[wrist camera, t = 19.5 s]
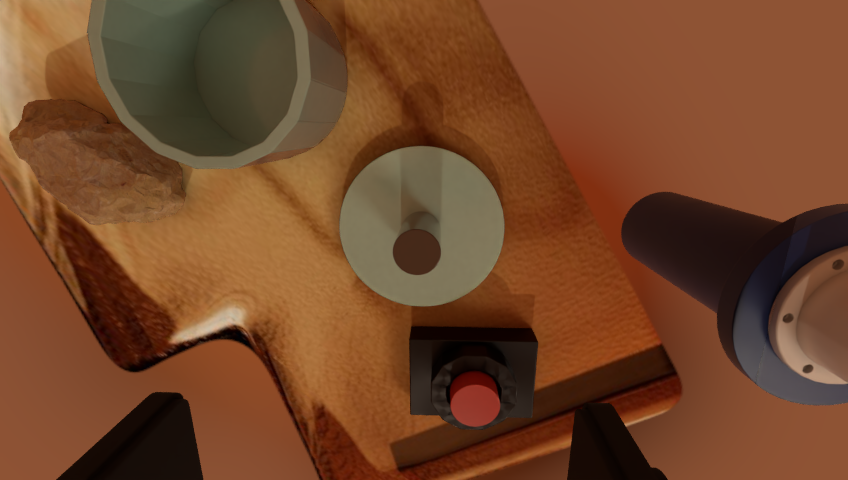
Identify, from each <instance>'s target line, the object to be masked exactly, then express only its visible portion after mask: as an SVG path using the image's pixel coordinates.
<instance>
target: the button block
mask: <svg viewBox="0 0 848 480" xmlns="http://www.w3.org/2000/svg"><path fill="white" fill-rule="evenodd" d="M537 349H538V341H537V339H536V336H535V334H534V332H533V330H532V329H530V328H472V327H413V326H412V327H411V332H410V339H409V351H410V414H411V415H440V416H441V418H442V419H443V420H444V421H446V422H448V423H450V424H452V425H454V426H456V427H458V428H460V429H473V430H483V429H487V428H489V427H491V426H493V425H496V424H498V423H500V422H502V421H504V420H505V419H506V417H518V418H532V411H533V398H534V386H535V374H536V362H537ZM467 371H480V372H483V373H486V374H487V375H489V376H490V377H491V378H492V379H493V380H494V382H495V384H496V386H497V391H498V395H499V400H500V410H499V413H498V415H497V416H496V418H495V419H494V420H493V421H491V422H490V423H488V424H486V425H483V426H477V427H474V426H468V425H465V424H462V423H461V422H459V421H458V420H457V419H456V418H455V417H454V415H453V414H452V411H451V407H450V387H451V384H452V382H453V380H454V379H455V378H456V377H457V376H458V375H460V374H462V373H464V372H467Z"/></svg>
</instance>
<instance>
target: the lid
mask: <svg viewBox="0 0 848 480" xmlns="http://www.w3.org/2000/svg"><path fill="white" fill-rule="evenodd" d="M339 231H340V238H341V243H342V247H343V250H344V253H345V255H346V258H347V260H348V262H349V264H350V265H351V267H352V269H353V270H354V272H355V273H356V274H357V276H358V277H359V278H360V279H361V280H362V281H363V282H364V283H365V284H366V285H367V286H368V287H370V288H371V289H372V290H373V291H375V292H376V293H378V294H380V295H381V296H383V297H385V298H387V299H389V300H392V301H395V302H398V303H401V304H405V305H410V306H435V305H441V304H445V303H448V302H451V301H454V300H456V299H458V298H461V297H462V296H464V295H466V294H467V293H469V292H471V291H472V290H473V289H474V288H476V287H477V286H478V285H479V284H480V283H481V282H482V281H483V280H484V279H485V278H486V277H487V275H488V274H489V273H490V272H491V270H492V268H493V267H494V265H495V263H496V261H497V259H498V257H499V254H500V252H501V248H502V244H503V239H504V216H503V210H502V206H501V203H500V199H499V197H498V195H497V193H496V191H495V189H494V187H493V186H492V184H491V182H490V181H489V179H488V178H487V177H486V176H485V175H484V173H483V172H482V171H481V170H480V169H479V168H478V167H476V166H475V165H474V164H473V163H472V162H470V161H469V160H467V159H466V158H464V157H463V156H461V155H459V154H457V153H455V152H452V151H449V150H446V149H443V148H439V147H434V146H409V147H404V148H399V149H396V150H393V151H390V152H388V153H386V154H384V155H382V156H380V157H378V158H377V159H375V160H374V161H372V162H371V163H369V164H368V165H367V166H366V167H365V168H364V169H363V170H362V171H361V172H360V173H359V174H358V175H357V176H356V178H355V179H354V180H353V182H352V184H351V185H350V187H349V188H348V190H347V193H346V195H345V197H344V200H343V204H342V207H341V212H340V219H339Z"/></svg>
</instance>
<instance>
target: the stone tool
mask: <svg viewBox="0 0 848 480" xmlns="http://www.w3.org/2000/svg"><path fill="white" fill-rule="evenodd" d="M9 139H10V141H11V143H12V146H13V148H14V150H15V152H16V154H17V155H18V157H19V158H20V159H22V160H24V161H26V162H27V163H28V164H29V165H30V167H31V169H32V171H33V172H34V173H35V175H36V177H37V179H38V182H39V184H40V185H41V186H42V188H43V189H45V190H46V191H47V192H48V193H50V194H51V195H52V196H54V197H55V198H56V199H57V200H59V201H60V202H61V203H63V204H65V205H66V206H67V207H68V209H69V210H71V211H73V212H74V213H76V214H77V215H79V216H80V217H82V218H83V219H84V220H85V221H87V222H88V223H89V224H93V225H101V224H105V223H112V224H119V223H122V222H140V223H147V222H153V221H155V220H160V219H162V218H164V217H166V216H171V215H173V214H175V213H177V212H178V211H179V210H180V208H181V207H182V206H183V204H184V200H185V196H186V193H185V191H184V190H183V189H182V188H181V181H182V169H181V167H180V165H179V164H178V162H177V161H175V160H173V159H170V158H168V157H165V156H163V155H160V154H158V153H156V152H155V151H153V150H152V149H151V148H150V147H149V146H148V145H147V144H145V143H144V142H143V141H142V140H141V139H140V138H139V137H137V136H136V135H135V134H134V133H133V132H132V131H131V130H130V129H128V128H127V127H125V126H124V125H122V124H120V123H112V124H107V119H106V117H105V116H104V115H103V114H102V113H98V112H95V111H93V109H91V108H88V107H85V106H83V105H82V104H80V103H79V102H77V101H66V100H63V99H58V100H52V99H50V100H35V101H32V102H29V103H28V104H27V105H26V106H24V109H23V114H22V120H21V121H20V123H19V125H18V126H17V127H16V128H15V129H14V130H12V131H11V132H10V135H9Z"/></svg>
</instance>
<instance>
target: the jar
mask: <svg viewBox="0 0 848 480" xmlns="http://www.w3.org/2000/svg"><path fill="white" fill-rule="evenodd" d="M87 33H88V40H89V45H90V49H91V54H92V59H93V64H94V68H95V73H96V78H97V80H98V81H97V82H98V84H99V85H100V87H101V89H102V91H103V92H104V94H105V96H106V97H107V99H108V101H109V102H110V104H111V106H112V108H113V109H114V111H115V113H116V114H117V116H118V118H119V120H120V121H121V122H122V123H123V124H124V125H125V126H126V127H127V128H128V129H130V130H131V131H132V132H133V133H134V134H135V135H136V136H137V137H139V138H140V139H141V140H142V141H143V142H144V143H145V144H147V145H148V146H149V147H150V148H151V149H152V150H153V151H155V152H156V153H158V154H160V155H163V156H165V157H168V158H170V159H173V160H175V161H178V162H180V163H183V164H185V165H188V166H190V167H193V168H196V169H236V168H242V167H247V166H252V165H257V164H262V163H267V162H273V161H278V160H283V159H288V158H291V157H293V156H296V155H298V154H301V153H304V152H306V151H308V150H310V149H311V148H314V147H315V146H317V145H318V144H319V143H320V142H321V141H322V140H323V139H324V138H325V137H326V136H327V135H328V134H329V133H330V132H331V130H332V129H333V128H334V126H335V124H336V123H337V121H338V119H339V117H340V115H341V112H342V110H343V107H344V103H345V99H346V92H347V69H346V63H345V58H344V54H343V51H342V48H341V46H340V43H339V41H338V39H337V37H336V35H335V33H334V31H333V29H332V27H331V25H330V23H329V22H328V21H327V20H326V19H325V18H324V17H323V16H322V15H321V14H320V13H319V12H318V11H317V10H316V9H315V8H314V7H313V6H312V5H311V4H310V2H309V1H308V0H92V3H91V9H90V16H89V22H88V29H87Z"/></svg>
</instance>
